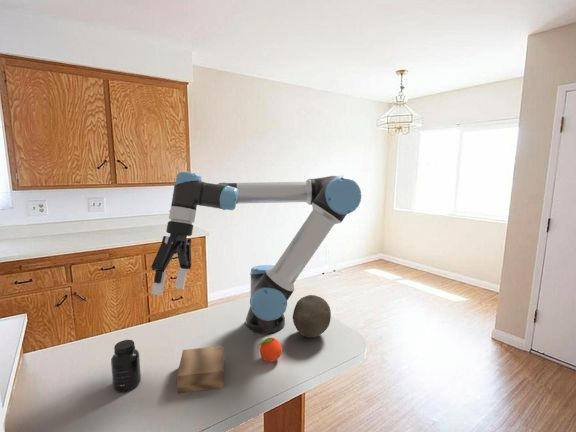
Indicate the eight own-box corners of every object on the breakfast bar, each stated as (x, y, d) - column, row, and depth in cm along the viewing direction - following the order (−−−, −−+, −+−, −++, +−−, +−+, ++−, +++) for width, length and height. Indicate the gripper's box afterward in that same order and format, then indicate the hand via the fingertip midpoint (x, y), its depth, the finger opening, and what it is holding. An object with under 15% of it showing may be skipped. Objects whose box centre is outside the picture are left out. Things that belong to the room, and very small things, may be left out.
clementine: (259, 369, 91) (260, 347, 90) (253, 356, 97) (253, 335, 96) (284, 363, 94) (285, 342, 93) (277, 351, 100) (277, 331, 99)
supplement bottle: (120, 376, 86) (117, 337, 85) (144, 375, 87) (142, 336, 85) (108, 394, 80) (104, 351, 78) (134, 393, 80) (132, 351, 78)
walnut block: (223, 360, 94) (223, 345, 94) (223, 387, 83) (223, 370, 82) (183, 365, 92) (182, 349, 91) (177, 393, 80) (177, 376, 80)
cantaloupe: (284, 331, 113) (285, 293, 110) (316, 323, 119) (318, 287, 117) (304, 351, 100) (305, 308, 98) (338, 341, 107) (340, 301, 104)
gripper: (187, 224, 106) (176, 285, 104) (146, 215, 82) (131, 295, 79) (207, 226, 105) (197, 288, 103) (172, 219, 81) (158, 299, 78)
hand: (168, 291), depth 91 cm, fingers open, 13 cm apart
